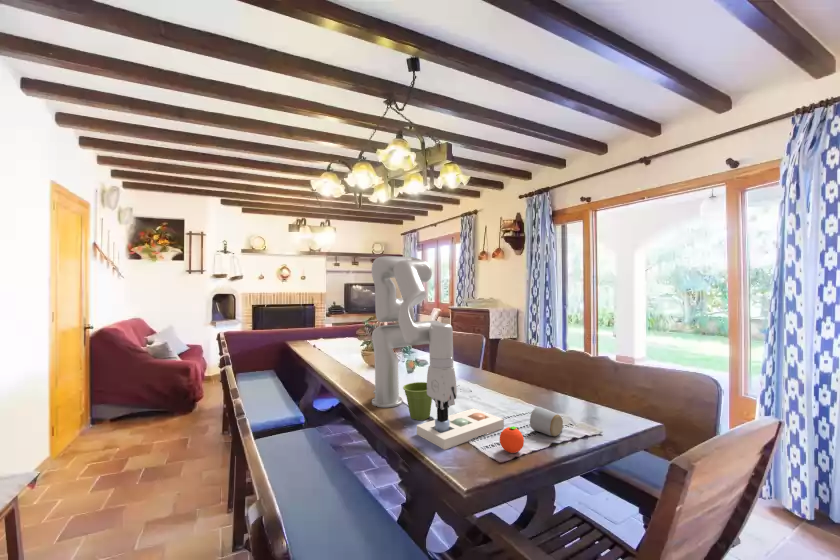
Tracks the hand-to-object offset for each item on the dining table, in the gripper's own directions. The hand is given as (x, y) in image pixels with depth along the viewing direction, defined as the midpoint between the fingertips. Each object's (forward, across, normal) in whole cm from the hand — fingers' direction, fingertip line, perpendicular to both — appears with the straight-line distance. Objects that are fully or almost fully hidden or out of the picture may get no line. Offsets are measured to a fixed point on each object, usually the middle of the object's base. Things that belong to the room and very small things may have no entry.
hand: (442, 420), depth 122 cm
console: (+6, 0, +8) cm, 10 cm away
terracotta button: (+5, 0, +16) cm, 17 cm away
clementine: (+6, +20, +10) cm, 23 cm away
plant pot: (+6, -19, +5) cm, 21 cm away
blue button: (+3, 0, 0) cm, 3 cm away
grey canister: (+6, +18, +30) cm, 35 cm away
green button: (+5, 0, +8) cm, 10 cm away
